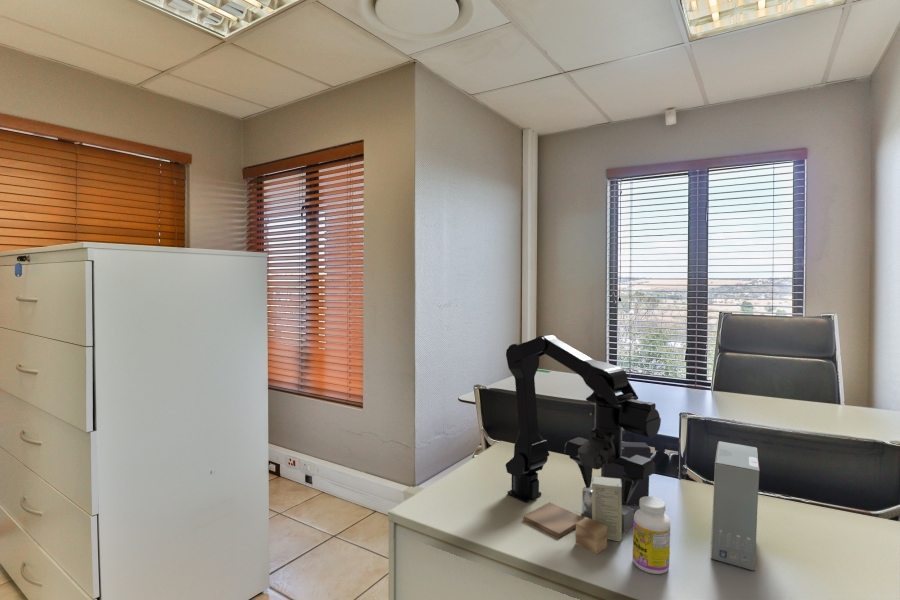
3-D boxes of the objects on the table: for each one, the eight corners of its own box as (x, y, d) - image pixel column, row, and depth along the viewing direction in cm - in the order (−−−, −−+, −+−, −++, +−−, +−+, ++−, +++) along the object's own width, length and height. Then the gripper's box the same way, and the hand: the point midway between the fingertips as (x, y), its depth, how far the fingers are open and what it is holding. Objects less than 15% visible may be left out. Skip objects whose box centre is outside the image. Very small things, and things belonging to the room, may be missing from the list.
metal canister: (578, 514, 111) (579, 489, 111) (588, 509, 114) (588, 485, 114) (593, 521, 108) (594, 495, 108) (602, 515, 111) (603, 490, 111)
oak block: (575, 543, 99) (575, 523, 99) (586, 537, 102) (586, 516, 102) (596, 554, 95) (596, 533, 95) (607, 547, 98) (607, 526, 98)
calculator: (643, 499, 119) (645, 441, 118) (649, 507, 115) (650, 447, 114) (599, 496, 120) (600, 439, 119) (603, 505, 116) (604, 445, 115)
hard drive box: (755, 573, 90) (759, 471, 88) (710, 560, 94) (713, 462, 93) (754, 535, 103) (757, 446, 102) (714, 525, 107) (716, 439, 106)
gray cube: (607, 525, 107) (608, 508, 107) (616, 519, 109) (617, 502, 109) (623, 532, 104) (624, 514, 104) (632, 526, 106) (633, 509, 106)
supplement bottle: (626, 555, 95) (627, 494, 94) (657, 554, 95) (659, 492, 95) (642, 577, 88) (644, 510, 88) (676, 575, 89) (678, 509, 88)
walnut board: (523, 519, 109) (523, 515, 109) (549, 506, 115) (549, 502, 115) (559, 538, 101) (559, 533, 101) (585, 522, 108) (585, 517, 108)
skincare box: (621, 532, 104) (622, 478, 103) (621, 542, 99) (622, 487, 99) (591, 527, 106) (592, 474, 105) (590, 537, 102) (591, 482, 101)
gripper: (550, 422, 103) (549, 491, 104) (630, 445, 89) (628, 525, 90) (579, 412, 110) (577, 477, 111) (657, 432, 96) (655, 506, 97)
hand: (606, 494), depth 102 cm, fingers open, 9 cm apart
